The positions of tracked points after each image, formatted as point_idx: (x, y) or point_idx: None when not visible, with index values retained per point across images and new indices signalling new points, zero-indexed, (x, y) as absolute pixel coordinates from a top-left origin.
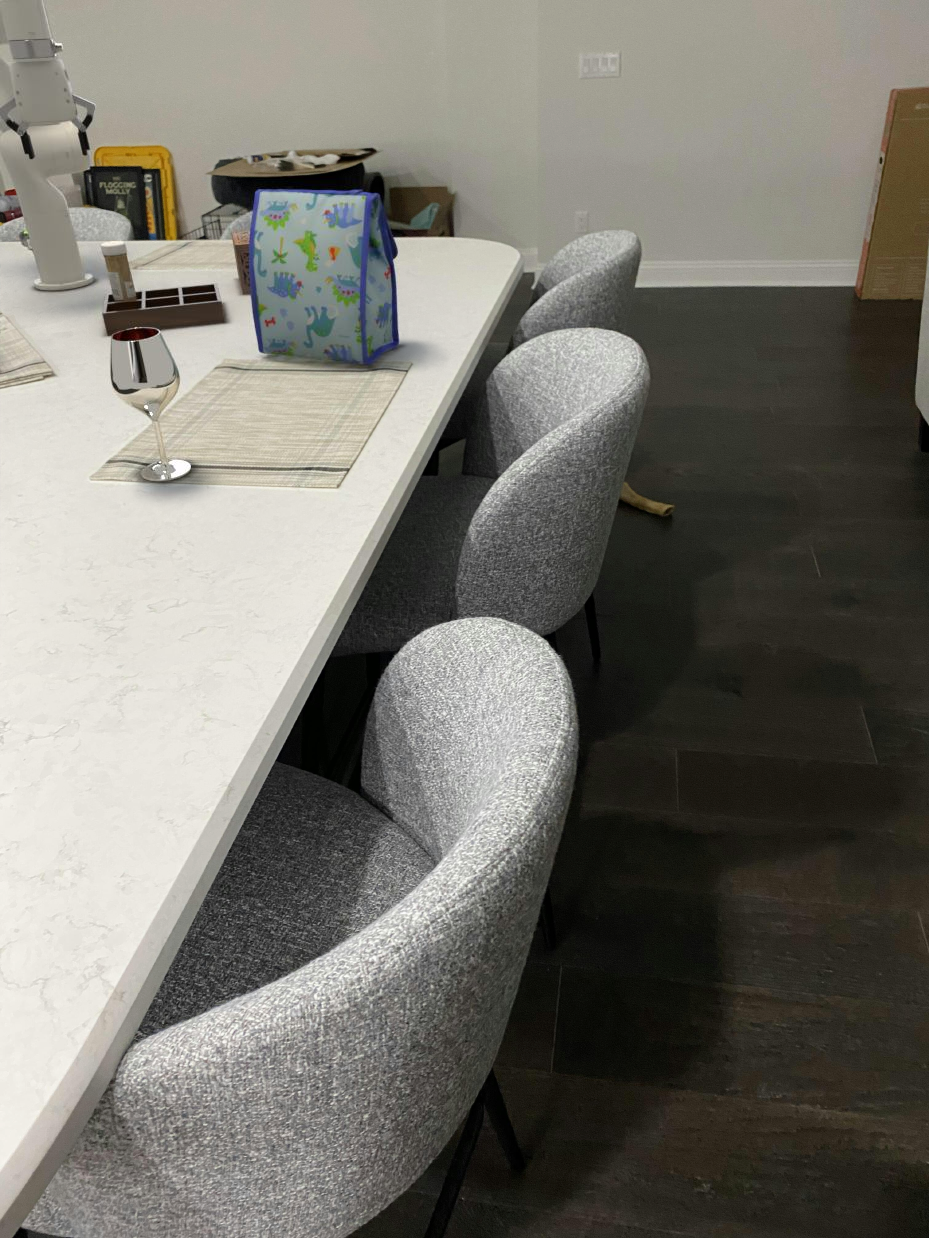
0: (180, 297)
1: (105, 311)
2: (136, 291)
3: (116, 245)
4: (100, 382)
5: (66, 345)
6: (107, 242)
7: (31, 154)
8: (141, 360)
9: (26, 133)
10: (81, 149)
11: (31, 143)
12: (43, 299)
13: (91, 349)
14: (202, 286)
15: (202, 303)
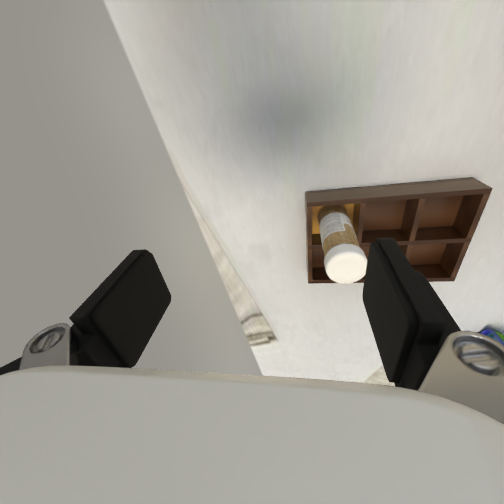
0: (408, 251)
1: (311, 278)
2: (352, 201)
3: (352, 282)
4: (308, 356)
5: (270, 283)
6: (338, 263)
7: (163, 310)
8: None
9: (108, 366)
10: (368, 315)
11: (122, 290)
12: (177, 48)
13: (295, 299)
14: (461, 194)
15: (428, 281)
